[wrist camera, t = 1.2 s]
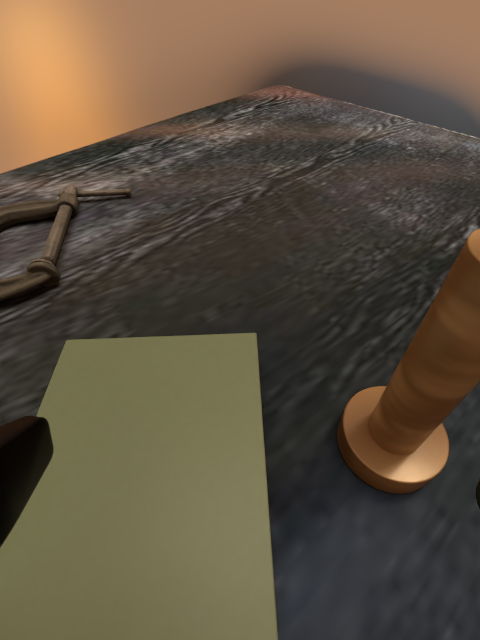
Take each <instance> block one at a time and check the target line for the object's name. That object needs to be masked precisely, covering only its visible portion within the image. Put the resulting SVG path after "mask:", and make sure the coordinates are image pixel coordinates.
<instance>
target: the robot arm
mask: <svg viewBox="0 0 480 640" xmlns="http://www.w3.org/2000/svg"><path fill="white" fill-rule="evenodd" d="M53 451H54V447H53V442H52V437H51V432H50V427H49V423H48V421H47V419H46V418H44V417H37V416H25V417H22V418H19V419H17V420H15V421H12V422H10V423H8V424H5V425H3V426H0V547H1V546H2V544H3V543H4V541H5V540H6V538H7V537H8V535H9V534H10V532H11V531H12V529H13V527H14V525H15V524H16V522H17V520H18V519H19V517H20V515H21V513H22V512H23V510H24V508H25V506H26V504H27V503H28V501H29V499H30V497H31V495H32V494H33V492H34V490H35V488H36V486H37V485H38V483H39V481H40V479H41V477H42V476H43V474H44V472H45V470H46V468H47V466H48V465H49V463H50V461H51V459H52V456H53ZM476 499H477V503H478V506H479V508H480V479H479V482H478V485H477V488H476Z"/></svg>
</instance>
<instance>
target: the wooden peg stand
mask: <svg viewBox="0 0 480 640" xmlns="http://www.w3.org/2000/svg"><path fill="white" fill-rule="evenodd" d="M479 381H480V229H477V230H476V231H474V232H473V233H471V234H470V235H469V237H468V239H467V241H466V242H465V244H464V246H463V248H462V250H461V252H460V253H459V255H458V257H457V259H456V261H455V263H454V264H453V266H452V268H451V270H450V272H449V273H448V275H447V277H446V279H445V281H444V283H443V284H442V286H441V288H440V290H439V292H438V294H437V295H436V297H435V299H434V301H433V303H432V304H431V306H430V308H429V310H428V312H427V314H426V315H425V317H424V319H423V321H422V323H421V325H420V326H419V328H418V330H417V332H416V334H415V336H414V337H413V339H412V341H411V343H410V345H409V346H408V348H407V350H406V352H405V354H404V356H403V357H402V359H401V361H400V363H399V365H398V367H397V368H396V370H395V372H394V374H393V376H392V377H391V379H390V381H389V383H388V385H387V386H377V387H371V388H367V389H364V390H362V391H360V392H358V393H357V394H356V395H354V396H353V397H352V398H351V399H350V400H349V402H348V403H347V405H346V407H345V410H344V412H343V414H342V417H341V419H340V422H339V425H338V430H337V440H338V446H339V449H340V452H341V454H342V457H343V459H344V460H345V462H346V464H347V465H348V466H349V468H350V469H351V470H352V471H353V472H354V473H355V474H356V475H357V476H358V477H359V478H360V479H361V480H363V481H364V482H365V483H367V484H368V485H370V486H372V487H374V488H376V489H379V490H381V491H384V492H388V493H394V494H404V493H410V492H414V491H416V490H418V489H420V488H422V487H423V486H425V485H426V484H427V483H428V482H429V481H431V480H432V479H433V478H434V477H435V476H437V475H438V474H439V473H440V472H441V471H442V469H443V468H444V466H445V464H446V462H447V460H448V455H449V441H448V436H447V433H446V430H445V428H444V426H443V424H442V422H443V421H444V420H445V418H446V417H447V416H448V415H449V414H450V413H451V412H452V411H453V410H454V409H455V407H456V406H457V405H458V404H459V403H460V402H461V401H462V400H463V399H464V398H465V397H466V395H467V394H468V393H469V392H470V391H471V390H472V389H473V388H474V387H475V386H476V385H477V383H478V382H479Z"/></svg>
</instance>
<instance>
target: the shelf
mask: <svg viewBox="0 0 480 640" xmlns="http://www.w3.org/2000/svg"><path fill="white" fill-rule="evenodd" d="M36 416H37V417H44V418H46V419H47V421H48V423H49V427H50V432H51V437H52V442H53V447H54V451H53V456H52V459H51V461H50V463H49V465H48V466H47V468H46V470H45V472H44V474H43V476H42V477H41V479H40V481H39V483H38V485H37V486H36V488H35V490H34V492H33V494H32V495H31V497H30V499H29V501H28V503H27V504H26V506H25V508H24V510H23V512H22V513H21V515H20V517H19V519H18V520H17V522H16V524H15V525H14V527H13V529H12V531H11V532H10V534H9V535H8V537H7V538H6V540H5V541H4V543H3V544H2V546H1V547H0V640H278V630H277V616H276V602H275V588H274V574H273V560H272V546H271V532H270V518H269V504H268V490H267V476H266V462H265V448H264V434H263V419H262V405H261V391H260V377H259V363H258V349H257V335H256V333H241V334H214V335H188V336H162V337H136V338H109V339H83V340H66V343H65V345H64V348H63V350H62V353H61V355H60V358H59V360H58V363H57V365H56V368H55V370H54V373H53V375H52V378H51V380H50V383H49V385H48V388H47V390H46V393H45V395H44V398H43V400H42V403H41V405H40V408H39V410H38V413H37V415H36Z"/></svg>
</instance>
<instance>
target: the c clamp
mask: <svg viewBox="0 0 480 640" xmlns="http://www.w3.org/2000/svg"><path fill="white" fill-rule="evenodd" d="M112 195H127V196H130V195H131V189H129V188H127V189H122V190H100V191H78V190H77V188H76V187H74V186H68V187H67V188H66V190H65V191H60V192H59V196H60V197H59V199H58V200H39V201H30V202H22V203H16V204H10V205H6V206H2V207H0V231H2V230H3V229H5V228H7V227H9V226H11V225H14V224H17V223H22V222H27V221H34V220H39V219H45V218H50V217H54V216H56V218H55V221H54V223H53V226H52V229H51V231H50V234H49V237H48V240H47V242H46V245H45V248H44V251H43V253H42V256H41V259H35V260H33V261H32V262H31V263H30V264H29V266H28V267H27V270H26V273H24V274H22V275H18V276H15V277H11V278H6V279H1V280H0V301H2V300H5V299H8V298H11V297H13V296H16V295H19V294H21V293H24V292H26V291H28V290H31V289H33V288H35V287H37V286H42V287H50V286H54V285H56V284H57V283H58V282H59V280H60V273H59V271H58V270H57V268H56V267H55V266H54V265H55V264H56V260H57V258H58V254H59V252H60V249H61V245H62V242H63V239H64V236H65V233H66V230H67V227H68V223H69V220H70V217H71V216H73V215H75V214H76V212H77V209H78V205H79V201H78V199H77V197H89V196H112Z"/></svg>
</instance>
